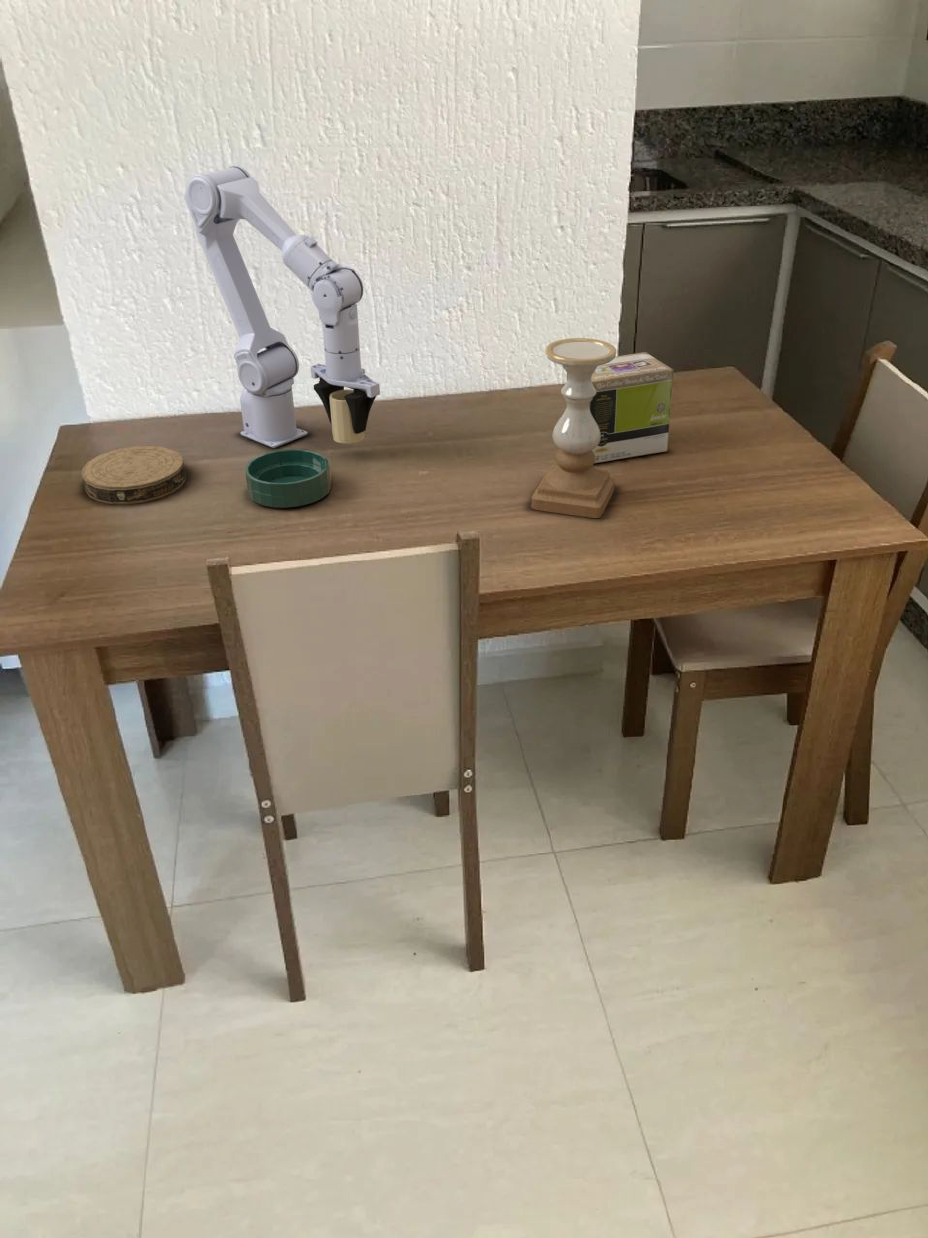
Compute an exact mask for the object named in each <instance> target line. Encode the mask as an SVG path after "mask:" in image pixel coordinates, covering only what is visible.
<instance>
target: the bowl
mask: <svg viewBox="0 0 928 1238" xmlns="http://www.w3.org/2000/svg"><path fill="white" fill-rule="evenodd" d="M330 469H331V468H330V462H329V459H328V458H327V457H326V456H324V455H323V454H322V453H319V452H316V451H313V450H310V449H303V448H301V449H300V448H287V449H279V450H277V449H276V450H274V451H269V452H265V453H262V454H260V455H257V456H255V457H254V458H252V459H251V460H250V461H248V463H247V464H246V465H245V467H244V471H245V481H246V486H247V493H248V494H247V495H248V497H249V498H250V500H252V501H253V502H254V503H257V504H259V505H261V506H265V507H270V508H282V509H283V508H284V509H285V508H295V507H301V506H305V505H310V504H313V503H316V502H318V501H320V500H322V499H323V498H324V497H326V496H327V495H328V494H329V493H330V491H331V489H332V480H331V470H330Z"/></svg>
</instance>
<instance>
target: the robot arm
mask: <svg viewBox="0 0 928 1238" xmlns="http://www.w3.org/2000/svg"><path fill="white" fill-rule="evenodd" d="M183 198H184V201H185V204H186V206H187V209H188V211H189V213H190V215H191V218H192V221H193V222H194V227H195V233H196V236H197V239H198V241H199V243H200V246H201V249H202V251H203V253H204V257H205V258H206V261H207V263H208V265H209V267H210V270H211V272H212V275H213V277H214V280H215V282H216V284H217V287H218V290H219V291H220V294H221V296H222V299H223V301H224V304H225V306H226V308H227V311H228V313H229V316H230V318H231V320H232V322H233V326H234V328H235V330H236V332H237V335H238V337H239V341H238V342H237V345H236V347H235V350H234V352H233V358H234V360H235V363H236V366H237V370H236V371H237V377H238V380H239V382H240V384H241V385H242V387H243V389H242V390H241V393H240V399H239V403H240V411H241V417H242V426H243V430H242V431H240V436H243V437H245V438H247V439H250V440H252V441H255V442H258V443H259V444H262V445H265V446H267V447H270V448H272V449H275V448H278V447H280V446H283V445H286V444H288V443H291V442H293V441H296V440H299V439H300V438H301V439H302V438H303V437H305V436H307V435H308V431H307V430H304V429H301V428H298V427H297V420H296V411H295V401H294V392H293V385H294V384H295V377H296V376H297V375H298V373H299V370H300V362H299V358H298V355H297V354H296V352H295V351H294V349H293V348H292V347H291V346H290V344H289V343H288V341H287V339H286V335H284V333H282V332H281V331H278V330H276V329H274V328H272V327H271V326H270V323H269V320H268V318H267V315H266V313H265V311H264V308H263V306H262V303H261V300H260V298H259V296H258V293H257V291H256V288H255V285H254V283H253V281H252V278H251V276H250V273H249V271H248V268H247V267H246V264H245V261H244V259H243V256H242V253H241V251H240V249H239V246H238V243H237V242H236V239H235V237H234V232H235V230H236V228H237V224H238V222H239V221H240V220H245V221H246V222H247V223H248V224H249V225H251V226H252V227H253V228H255V229H256V231H258V232H259V233H260V234H261V235H263V237H265V238H266V239H267V240H268V241H269V242H270V243H272V244H273V245H274V246H275V247H276V248H277V249H278V250H280V251H281V257H282V258H281V259H282V263H283V264H284V265H285V267H287V268H288V270H290V271H291V272H292V273H293V274H294V275H295V276H296V277H297V278H298V279H299V280H300V281H301V282H302V283H303V284H304V285H305V287H307V288H308V290H309V291H311V292H310V296H311V301H312V302H313V304H314V306H315V307H316V309H317V311H318V317H319V320H320V322H321V325H322V326H321V328H322V336H323V350H324V361H325V364H322V363H316V364H313V365H311V366H310V376H311V378H312V379H314V380H315V379H319V381H318V383H315V384H314V385H313V391H315V393H316V395H318V398H319V399H320V400H321V403H322V405H323V407H324V410H325V412H326V414H327V418H328V421H329V424H330V425H332V421H331V410H330V398H329V396H330V394H331V393H332V392H335V391H338V390H345V388H347V389H350V390H354V393H353V392H352V393H350V394H347V395H344V398H345V400H346V402H347V404H348V407H349V410H350V413H351V419H352V426H353V430H354V433H356V434H359V433H361V432H364V433H365V432H366V431H367V426H368V421H369V420H368V419H369V416H370V413H371V409H372V406H373V404H374V402H375V400H376V398H377V396H379V395H381V386H380V383H379V382H377V381H375V380H373V379H372V378H370V376H368V375H366V369H365V368H362V360H361V345H360V344H361V343H360V328H359V316H358V303H360V301H361V300H362V298H363V296H364V285H363V281H362V279H361V277H360V276H359V274H358V273H357V271H356V270H355V269H354V268H353V267H350V266H342V264H340V263H337V262H336V261H335V260H333V258H332V257H330V256H329V254H327V253H326V252H325V250H323V249H322V248H321V247H320V246H319V244H318V241H317V239H315V238H314V237H313V236H311V237H310V236H309V235H307V234H297V233H296V232H295V231H294V230H293V229H292V227H291V226H290V225H289V224H288V223H287V222H286V221H285V220H284V219H283V217H282V216H281V215H280V214H279V212H278V211H276V209H275V207H273V206H272V205H271V204H270V203H269V201H268V200H267V199H266V197H264V196H263V195H262V193H261V191H260V186H259V182H258V180H256V179H255V178H254V177H252V176H251V175H250V173H249V172H248V170H247V169H245V168H244V167H242V166H240V165H231V166H229V167H228V168H223V169H219V170H214V171H210V172H207V173H197V174H194V175H193V176H191V177H190V178H189V180H188V182H187V186H186V189H185V192H184V196H183ZM263 349H264V350H263ZM260 350H262V351H260Z"/></svg>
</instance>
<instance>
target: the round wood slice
mask: <svg viewBox="0 0 928 1238" xmlns="http://www.w3.org/2000/svg"><path fill="white" fill-rule="evenodd" d="M81 478H82V482H83V486H84V489H85V492H86V494H87V495H88V497H89V498H91V499H92V500H94V501H97V502H98V503H104V504H109V505H135V504H143V503H147V502H151V501H155V500H159V499H162V498H165V497H166V496H168V495H171V494H173V493H175V492H177V490H179V489H181V488H182V486H183V485H184V483H185V482H186V480H187V476H186V469H185V464H184V457H183V456H182V455H181V454H180V452H178V451H177V450H174V449H172V448H169V447H164V446H158V445H136V446H127V447H121V448H118V449H113V450H110V451H107V452H105V453H102V454H99V455H97V456H96V457H93V458H92V459H90V460H88V461H87V462H86V464H85V465H84V466H83V467H82V471H81Z"/></svg>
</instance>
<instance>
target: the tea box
mask: <svg viewBox="0 0 928 1238" xmlns="http://www.w3.org/2000/svg"><path fill="white" fill-rule="evenodd" d="M591 381H592V384H593V386H594V388H595V389H596V395H595V396H594V397H593V399H592V401H591V402H590V405H589V409H590V412H591V414H592V416H593V418H594V419H595V421H596V423H597V424H598V426H599V429H600V432H601V439H600V442H599V444H598V445H597V446H596V447H595V448H594V449H593V450H592V451H593V453H594V454H595V463H594V464H598V463H604V462H609V461H610V462H611V461H615V460H621V459H628V458H633V457H639V456H645V455H646V456H647V455H651V454H652V455H653V454H657V453H665V452H668V447H669V437H670V432H669V431H670V423H671V410H672V409H671V407H672V394H673V383H674V382H673V381H674V368H672V367H670V366H668V365H667V364H665V363H663V362H662V361H660V360H659V359H657V358H656V357H654V356H653V355H651V354H649V353H648V352H647V351H643V352H636V353H629V354H624V355H616V356H615V358H614V359H613V360H612V361H611V362H609V363H606V364H603V365H599V366H598V367H597V368H596V370H595V371H594V372H593V374H592V377H591ZM566 407H567V403H566V402H565V408H566Z"/></svg>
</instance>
